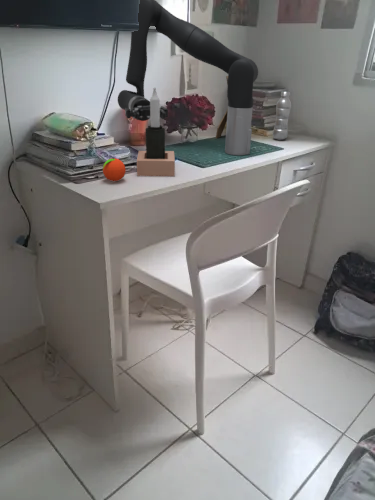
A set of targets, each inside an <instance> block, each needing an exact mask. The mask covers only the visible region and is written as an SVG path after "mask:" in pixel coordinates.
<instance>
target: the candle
mask: <svg viewBox="0 0 375 500" xmlns="http://www.w3.org/2000/svg"><path fill="white" fill-rule="evenodd" d="M152 90H153V91H152V95H151V97H150V99H149V101H150V118H149V119H150V125H148V126H147V127H146V128H145V151H146V159H165V151H166V128H165V127H163V126H162V125H161V124H160V123H161V121H160V120H161V118H160V107H161V104H160V102H161V101H160V97H159V96H158V93H157V89H156V87H153V88H152Z"/></svg>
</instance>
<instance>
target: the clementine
mask: <svg viewBox="0 0 375 500" xmlns="http://www.w3.org/2000/svg"><path fill="white" fill-rule="evenodd" d="M102 173H103V174H102V175H104V177H105V178H106V179H107V180H108V181H110V182H118V181H120V180H122V179H124V177H125V174H126V165H125V164H124V162H123V161H122V160H120V159H119V158H116V157H115V158H114V157H113V158H112V157H111V158H109V159H107V160H106V161H105V162H104V163H103V166H102Z"/></svg>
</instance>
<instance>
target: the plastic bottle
mask: <svg viewBox="0 0 375 500" xmlns="http://www.w3.org/2000/svg"><path fill="white" fill-rule="evenodd" d="M290 94H291V92H290V91H288V90H282V91H281V93H280V98H279V99H278V101H277V102H276V107H275V109H276V114H275V122H274V128H273V131H272V138H273V139H274V140H278V141H283V140H286V139H287V137H288V132H289V131H288V129H289V127H288V124H289V117H290V113H291V109H292V102H291V99H290V96H291V95H290Z"/></svg>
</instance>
